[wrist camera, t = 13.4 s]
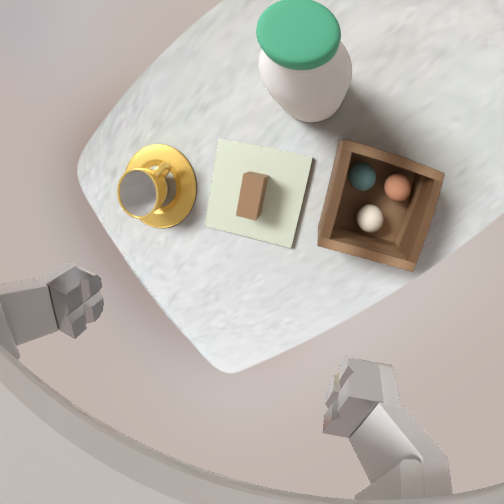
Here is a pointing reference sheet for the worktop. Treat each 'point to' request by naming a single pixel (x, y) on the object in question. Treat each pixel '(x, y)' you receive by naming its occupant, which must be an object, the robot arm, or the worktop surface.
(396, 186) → the ball
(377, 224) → the ball
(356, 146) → the box
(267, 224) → the lid
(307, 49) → the milk bottle
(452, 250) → the worktop surface
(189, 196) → the cup
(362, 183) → the ball
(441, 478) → the robot arm
